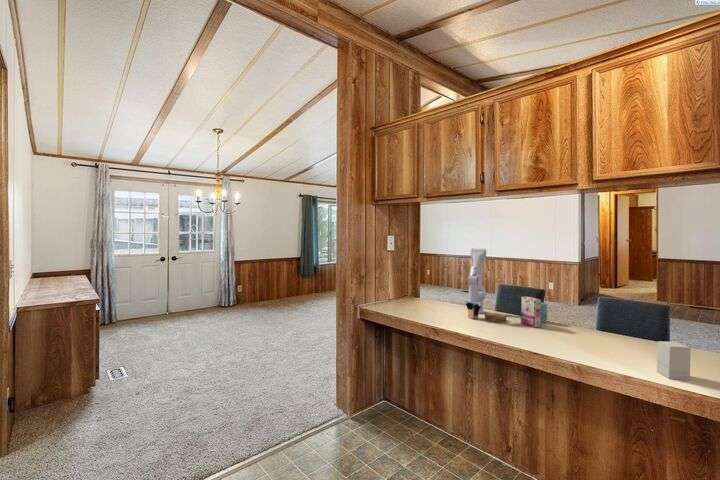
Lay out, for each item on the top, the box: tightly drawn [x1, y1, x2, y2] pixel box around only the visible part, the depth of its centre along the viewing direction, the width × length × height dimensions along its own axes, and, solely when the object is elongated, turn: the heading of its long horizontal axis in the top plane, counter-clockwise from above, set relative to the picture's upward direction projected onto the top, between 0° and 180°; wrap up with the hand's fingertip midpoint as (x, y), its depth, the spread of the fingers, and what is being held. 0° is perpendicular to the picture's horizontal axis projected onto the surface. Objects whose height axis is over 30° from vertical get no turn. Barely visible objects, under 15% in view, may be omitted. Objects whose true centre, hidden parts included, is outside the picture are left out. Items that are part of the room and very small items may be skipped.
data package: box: [541, 301, 548, 324], centre depth 220 cm, size 12×4×12 cm, turn 36°
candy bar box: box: [520, 296, 542, 328], centre depth 210 cm, size 11×5×16 cm, turn 16°
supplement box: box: [656, 340, 692, 381], centre depth 137 cm, size 7×7×13 cm
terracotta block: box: [467, 308, 479, 320], centre depth 226 cm, size 4×4×5 cm
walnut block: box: [484, 312, 507, 323], centre depth 222 cm, size 9×9×4 cm
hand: (473, 315), depth 226 cm, fingers closed on terracotta block, 4 cm apart
